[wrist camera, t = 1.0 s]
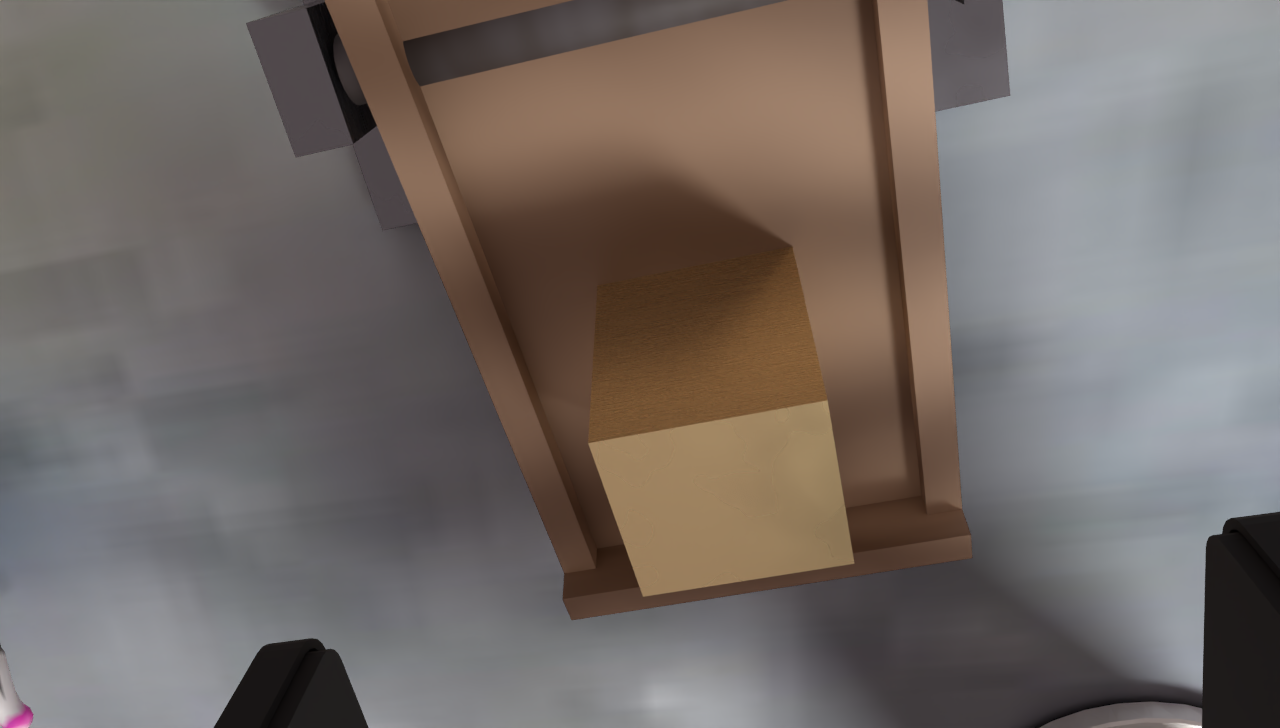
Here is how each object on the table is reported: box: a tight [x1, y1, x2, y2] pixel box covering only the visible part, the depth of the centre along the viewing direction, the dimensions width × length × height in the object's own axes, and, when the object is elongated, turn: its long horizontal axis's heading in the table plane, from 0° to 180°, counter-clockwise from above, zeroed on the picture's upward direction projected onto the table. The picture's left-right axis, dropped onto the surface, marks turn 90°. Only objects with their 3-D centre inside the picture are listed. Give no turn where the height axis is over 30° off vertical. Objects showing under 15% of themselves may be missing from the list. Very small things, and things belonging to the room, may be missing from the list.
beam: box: [325, 0, 972, 620], centre depth 22 cm, size 34×13×3 cm, turn 14°
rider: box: [588, 246, 854, 597], centre depth 25 cm, size 5×5×6 cm
